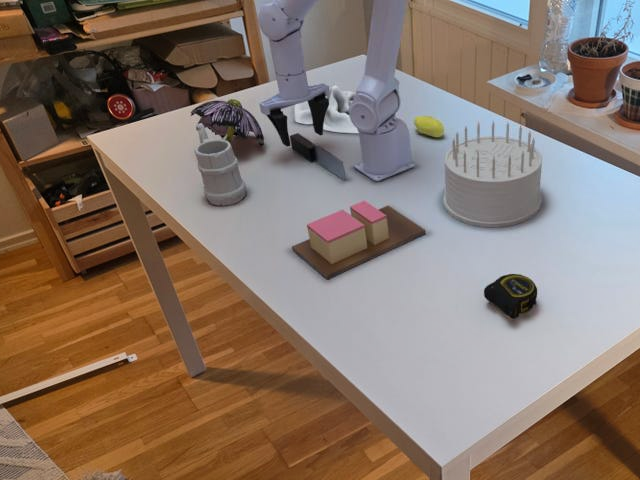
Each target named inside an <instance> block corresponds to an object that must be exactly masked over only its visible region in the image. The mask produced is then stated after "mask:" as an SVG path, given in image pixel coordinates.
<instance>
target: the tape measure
mask: <svg viewBox="0 0 640 480" xmlns="http://www.w3.org/2000/svg"><path fill="white" fill-rule="evenodd" d="M483 296H484V298H485V300H486V301H487V302H489V303H490V304H492V305H493V306H495V308H497V309H499V310H501V312H502V313H504V314H505V316H507V317H508V318H509V319H511V320H516V319H517V318H518V317H520V315H523V314H526V313H528V312H530V311H531V310H532V309H533V308H534V307H535V306H536V304H537V298H538V287H537V285H536V283H535V282H534V281H533V280H532V279H531V278H529V277H528V276H525V275H523V274H519V273H518V274H517V273H509V274H503V275H501V276H500V277H498V278H497V279H495V280H494V281H493V282H492V283H490V284H487V285H486V286H485V288H484V289H483Z"/></svg>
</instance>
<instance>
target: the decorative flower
mask: <svg viewBox="0 0 640 480" xmlns="http://www.w3.org/2000/svg"><path fill="white" fill-rule="evenodd" d="M194 115H197V116H198V117H200V119H199V120H198V122H197V124H200V123H202V124H203V125H204V127H205V129H207V130H209V131H211V133H214V135H215V136H220V138H221V140H225V141H228V142H229V143H230V144H231V142H232V139H233V137H240V138H241V139H243V140H246V139H247V138H248V137H249V134H250V132H251V133H253V134H254V136H255V138H256V141H257V143H258V145H259V146H260V147H263V146H264V145H265V138H264V133H263V130H262V128H261V126H260V124H259V122H258V120H257V119H256V118H255V116H254V115H253V114H252V113H251V112H250V111H249V110H247V109H246V108H244V107H243V105H242V103H241V102H240V101H239V100H238V99H237V100H236V99H233V98H232V99H228V100H227V101H225V100H211V101H207V102H203V103H201V104H200V105H198V106H196V107H195V108H193V109H192V110H191V112H190V117H192V116H194ZM195 130H196V131H198V129H197V126H196V127H195ZM224 138H225V139H224ZM232 150H233V151H234V149H233V148H232Z"/></svg>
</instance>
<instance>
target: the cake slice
mask: <svg viewBox="0 0 640 480" xmlns="http://www.w3.org/2000/svg"><path fill="white" fill-rule="evenodd" d="M349 212H350V215H351V216H352V217H354V218H355V219H357V220H358V221H359V222H361V223H362V224H364V226H365V234H366V239H367V240H368V241H370V242H371V243H372V244H374V245H376V244H378V243H380V242H382V241H385V240H387V239H389V235H388V225H387V216H386V215H385V214H384V213H382V212H381V211H379V208H376V207H375V206H373V205H372V204H370V203H369V202H367V201H366V200H362V201H360V202H356V203H355V204H352V205H350V206H349Z"/></svg>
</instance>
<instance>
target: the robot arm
mask: <svg viewBox="0 0 640 480" xmlns="http://www.w3.org/2000/svg"><path fill="white" fill-rule="evenodd" d="M318 2H319V0H272V2H271V3H265V4H263V5H261V6H260V9H259V11H258V13H257V23H258V26H259V29H260V31H261V32H262V33H263V35H264V36H265V37H266V38H267V39H268V44H269V48H270V53H271V54H270V55H271V59H272V63H273V69H274V73H275V79H276V83H277V88H278V93H277V94H275V95H272V96H271V97H269V98H267V99H265V100H262V101H260V102H258V104H259V109H260V113H262V114H263V115H265V116H266V117H267V119H269V121H270V122H271V124H272V126H273V127H274V129H275V130H276V132H277V134H278V136H279V138H280V141H281V143H282V145H284V146H285V147H287V148H288V147H291V140H290V134H289V130H288V129H289V128H288V116H287V115H285V114H284V111H282V110H283V109H286V108H289V107H292V106H293V107H294V106H295V105H296V104H299V103H303V102H306V101H307V102H308V104H309V108H310V111H311V115H312V121H313V124H312V126H313V130H314V133H315V134H316V135H318V136H322V135H323V134H324V130H323V125H324V118H325V114H326V111H327V109H328V106H329V99H327V98H325V97H326V96H329V95H330V85H328V84H326V83H325V82H323V83H319V84H311V85H309V83H308V76H307V70H306V65H305V59H304V58H305V57H304V52H303V46H302V38H303V37H302V28H303V26H304V23H305V18H306V17H307V15H308V14H309V13H310V12H311V11H312V9H313V8H314V6H315V5H316V4H317V3H318ZM407 5H408V0H373V6H372V13H371V14H372V15H371V19H370V26H369V27H370V29H369V34H368V35H369V36H368V44H367V51H366V58H365V65H364V73H363V76H362V78H361V80H360V82H359V84H358V85H357V88H356V90H355V93H356V95H355V99H354V100H353V101H352V103H351V104H350V107H349V116H350V119H351V121H352V123H353V125H354V126H355V127H356V128H357V130H358V132H359V134H358V135H359V136H358V137H359V144H360V151H361V153H360V154H361V162H359V163H357V164H355V165H354V166H353V167H354V169H355V170H357V171H358V172H360V173H361V174H364V175H365V176H366V177H368V178H369V179H371V180H372V181H374V182H380V181H382V180H385V179H388V178H390V177H393V176H395V175H397V174H400V173H402V172H405V171H407V170H410V169H412V168H414V167H415V163H413V158H412V144H411V143H412V141H411V133H410V131H409V128H408V125H407V123H406V122H405V121H404V119H402V118H400V117H397V116H396V114H397V113H398V111H399V110H400V107H401V105H402V104H401V95H400V81H399V80H398V78H397V77H395V76H396V75H395V74H396V68H397V64H398V56H399V53H400V52H399V51H400V45H401V38H402V34H403V28H404V23H405V15H406V9H407Z"/></svg>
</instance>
